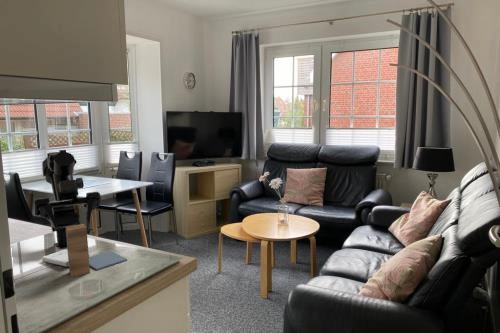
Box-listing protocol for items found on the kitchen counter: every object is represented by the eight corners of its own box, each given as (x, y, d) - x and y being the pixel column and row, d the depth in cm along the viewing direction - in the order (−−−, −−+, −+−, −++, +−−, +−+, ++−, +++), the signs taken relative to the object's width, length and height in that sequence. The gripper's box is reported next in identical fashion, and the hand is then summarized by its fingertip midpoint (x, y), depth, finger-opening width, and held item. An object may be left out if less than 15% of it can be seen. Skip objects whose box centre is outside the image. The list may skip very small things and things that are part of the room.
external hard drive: (66, 267, 111) (42, 261, 117) (89, 258, 118) (66, 253, 124) (65, 262, 110) (41, 256, 117) (89, 253, 117) (65, 248, 124)
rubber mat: (80, 261, 117) (80, 259, 117) (110, 252, 124) (110, 250, 124) (96, 270, 110) (96, 268, 109) (127, 260, 117) (127, 258, 117)
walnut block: (69, 272, 109) (65, 226, 107) (87, 268, 111) (83, 223, 109) (71, 277, 105) (67, 230, 103) (90, 272, 108) (86, 227, 106)
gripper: (31, 172, 109) (37, 216, 101) (97, 167, 119) (107, 206, 111) (32, 194, 116) (38, 236, 109) (94, 187, 126) (103, 225, 119)
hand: (72, 225), depth 112 cm, fingers open, 9 cm apart
